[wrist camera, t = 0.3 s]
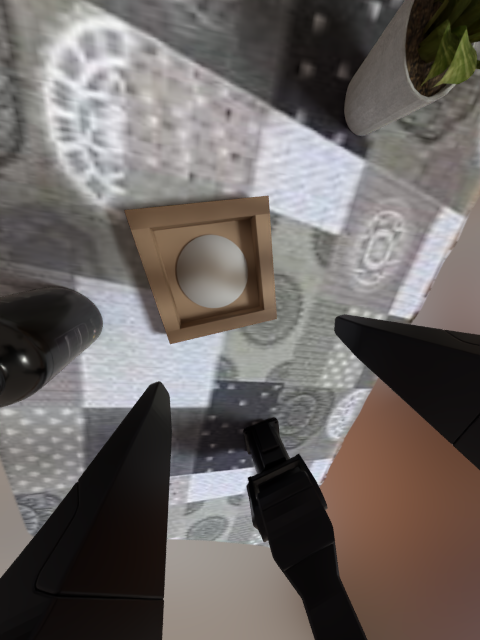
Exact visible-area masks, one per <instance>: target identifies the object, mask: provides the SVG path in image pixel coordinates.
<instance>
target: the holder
mask: <svg viewBox="0 0 480 640" xmlns="http://www.w3.org/2000/svg"><path fill="white" fill-rule="evenodd" d="M124 211H125V214H126V217H127V220H128V223H129V226H130V229H131V232H132V235H133V237H134V240H135V243H136V246H137V249H138V252H139V255H140V258H141V261H142V264H143V267H144V270H145V272H146V275H147V278H148V281H149V284H150V287H151V290H152V293H153V296H154V299H155V302H156V305H157V307H158V310H159V313H160V316H161V319H162V322H163V325H164V328H165V331H166V334H167V337H168V340H169V342H170V344H173V343H177V342H181V341H186V340H190V339H194V338H198V337H202V336H207V335H211V334H215V333H219V332H223V331H228V330H232V329H236V328H240V327H244V326H249V325H253V324H257V323H261V322H265V321H270V320H274V319H277V314H276V299H275V285H274V270H273V255H272V240H271V226H270V211H269V196H261V197H251V198H241V199H231V200H221V201H211V202H201V203H191V204H181V205H171V206H161V207H151V208H141V209H131V210H124Z"/></svg>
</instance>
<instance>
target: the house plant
mask: <svg viewBox="0 0 480 640" xmlns="http://www.w3.org/2000/svg"><path fill="white" fill-rule="evenodd" d="M478 41H480V0H405V1H404V3H403V4H402V6H401V7H400V8H399V10H398V11H397V13H396V14H395V16H394V17H393V19H392V20H391V22H390V23H389V25H388V26H387V28H386V29H385V31H384V32H383V34H382V35H381V37H380V38H379V40H378V41H377V42H376V44H375V45H374V47H373V48H372V50H371V51H370V53H369V54H368V56H367V57H366V59H365V60H364V62H363V63H362V65H361V66H360V68H359V69H358V71H357V72H356V74H355V75H354V76H353V78H352V80H351V82H350V83H349V85H348V89H347V93H346V98H345V107H344V113H345V119H346V122H347V125H348V127H349V128H350V130H351V131H352V132H353V133H354V134H356V135H359V136H364V135H367V134H370V133H372V132H374V131H376V130H378V129H380V128H382V127H384V126H386V125H388V124H390V123H392V122H394V121H396V120H398V119H400V118H402V117H404V116H406V115H408V114H410V113H412V112H414V111H416V110H418V109H420V108H422V107H424V106H426V105H428V104H430V103H432V102H434V101H436V100H438V99H440V98H441V97H443V96H445V95H446V94H447V93H448V92H449V91H450V90H451V89H452V88H453V87H454V86H455V85H456V84H460V83H462V82H464V81H465V80H467V79H468V78H469V77H470V76H471V75H472V74H473V73H474V71H475V69H480V61H478V60H477V54H476V51H475V49H474V46H475V43H476V42H478Z"/></svg>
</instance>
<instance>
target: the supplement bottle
mask: <svg viewBox="0 0 480 640" xmlns="http://www.w3.org/2000/svg"><path fill="white" fill-rule="evenodd" d="M102 327H103V320H102V316H101V314H100V312H99V310H98V308H97V307H96V306H95V305H94V303H92V302H91V301H90V300H89V299H88V298H86V297H85V296H83V295H81V294H79V293H77V292H75V291H72V290H69V289H65V288H58V287H48V288H40V289H35V290H30V291H26V292H21V293H16V294H12V295H7V296H3V297H0V407H4V406H8V405H11V404H14V403H17V402H19V401H22V400H24V399H26V398H28V397H30V396H31V395H33V394H34V393H36V392H37V391H38V390H40V389H41V388H42V387H43V386H45V385H46V384H47V383H48V382H49V381H50V380H51V379H53V378H54V377H55V376H56V375H57V374H58V373H59V372H60V371H62V370H63V369H64V368H65V367H66V366H67V365H68V364H70V363H71V362H72V361H73V360H74V359H75V358H76V357H77V356H79V355H80V354H81V353H82V352H83V351H84V350H85V349H87V348H88V347H89V346H90V345H91V344H92V343H93V342H94V341H95V340H96V339H97V338H98V337H99V335H100V334H101V331H102Z"/></svg>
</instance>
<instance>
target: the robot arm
mask: <svg viewBox="0 0 480 640" xmlns="http://www.w3.org/2000/svg"><path fill="white" fill-rule="evenodd" d="M334 331H335V333H336V335H337V336H338V337H339V338H340V339H341V340H342V342H343V343H344V344H345V345H346V346H347V347H348V348H349V349H350V350H351V352H352V353H353V354H354V355H355V356H356V357H357V358H358V359H359V360H360V361H361V362H363V363H364V364H365V365H366V366H367V367H368V368H369V369H370V370H371V371H372V372H373V373H375V374H376V375H377V376H378V377H379V378H380V379H381V380H382V381H383V382H384V383H385V384H387V385H388V386H389V387H390V388H391V389H392V390H393V391H394V392H395V393H396V394H398V395H399V396H400V397H401V398H402V399H403V400H404V401H405V402H406V403H407V404H408V405H410V406H411V407H412V408H413V409H414V410H415V411H416V412H417V413H418V414H419V415H420V416H421V417H423V418H424V419H425V420H426V421H427V422H428V423H429V424H430V425H431V426H432V427H433V428H435V429H436V430H437V431H438V432H439V433H440V434H441V435H442V436H443V437H444V438H446V439H447V440H448V441H449V442H450V443H451V444H453V446H454V447H455V448H456V449H457V450H458V451H459V452H461V453H462V454H463V455H464V456H465V457H466V458H467V459H468V460H469V461H470V462H471V463H472V464H474V465H475V466H476V467H477V468H478V469H479V470H480V335H476V334H469V333H462V332H456V331H449V330H442V329H436V328H430V327H423V326H416V325H410V324H404V323H397V322H391V321H384V320H378V319H371V318H365V317H358V316H352V315H345V314H344V315H340V316H338V317H336V319H335V327H334ZM243 432H244V437H245V442H246V447H247V452H248V454H251V455H252V458H253V462H254V465H255V469H256V472H257V474H256V475H254V476H252V477H251V476H250V477H248V481H249V483H248V485H247V486H246V487H247V491H248V496H249V501H250V508H251V515H252V522H253V526H254V527H255V528H256V529H258V530H259V533H260V534H261V536H262V539H263V542H266V541H269V545H270V549H271V552H272V556H273V558H274V560H275V562H276V563H277V565H278V566H279V567H280V569H281V570H282V572H283V573H284V574H285V576H286V577H287V579H288V580H289V581H290V583H291V584H292V586H293V587H294V588H295V590H296V591H297V593H298V594H299V595H300V597H301V598H302V600H303V604H304V607H305V610H306V613H307V616H308V619H309V623H310V626H311V629H312V632H313V635H314V638H315V640H367V638H366V636H365V633H364V631H363V629H362V627H361V624H360V622H359V620H358V617H357V615H356V613H355V611H354V608H353V606H352V604H351V602H350V600H349V597H348V595H347V593H346V591H345V588H344V586H343V584H342V581H341V579H340V577H339V570H338V562H337V555H336V547H335V538H334V531H333V526H332V523H331V521H330V519H329V517H328V515H327V513H326V511H325V510H326V509H327V504H326V501H325V499H324V497H323V494H322V492H321V490H320V488H319V486H318V484H317V482H316V480H315V478H314V477H313V475H312V474H311V472H310V470H309V469H308V467H307V466H306V464H305V462H304V461H303V459H302V457H301V456H300V454H297V455H296V456H295V457H292V458H290V457H289V455H288V453H287V451H286V449H285V447H284V445H283V443H282V441H281V438H280V435H279V424H278V420H277V419H276V418H275V419H272V420H269V421H266V422H263V423H261V424H258V425H255V426H252V427H249V428H246V429H244V431H243ZM171 438H172V426H171V410H170V396H169V393H168V391H167V390H166V388H165V387H164V385H163V384H162V383H161V382H160V381H158V382H155V383H153V384H151V385H149V387H148V388H147V389H146V391H145V392H144V393H143V395H142V396H141V397H140V399H139V400H138V401H137V403H136V404H135V405H134V407H133V408H132V409H131V411H130V412H129V413H128V414H127V416H126V417H125V418H124V420H123V421H122V422H121V424H120V425H119V426H118V428H117V429H116V430H115V432H114V433H113V434H112V436H111V437H110V438H109V440H108V441H107V442H106V444H105V445H104V446H103V448H102V449H101V450H100V452H99V453H98V454H97V456H96V457H95V458H94V460H93V461H92V462H91V464H90V465H89V466H88V468H87V469H86V470H85V472H84V473H83V474H82V475H81V477H80V478H79V480H78V482H77V483H75V485H74V486H73V487H72V489H71V490H70V491H69V493H68V494H67V495H66V497H65V498H64V499H63V501H62V502H61V503H60V504H59V506H58V507H57V508H56V510H55V511H54V512H53V513H52V515H51V516H50V517H49V519H48V520H47V521H46V523H45V524H44V525H43V526H42V528H41V529H40V530H39V531H38V533H37V534H36V535H35V536H34V538H33V539H32V540H31V541H30V542H29V544H28V545H27V546H26V547H25V549H24V550H23V551H22V552H21V554H20V555H19V557H17V559H16V560H15V561H14V562H13V564H12V565H11V566H10V567H9V568H8V570H7V571H6V572H5V573H4V575H3V576H2V577H1V578H0V640H162V629H163V608H164V600H163V598H164V585H165V564H166V542H167V522H168V501H169V480H170V459H171Z"/></svg>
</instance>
